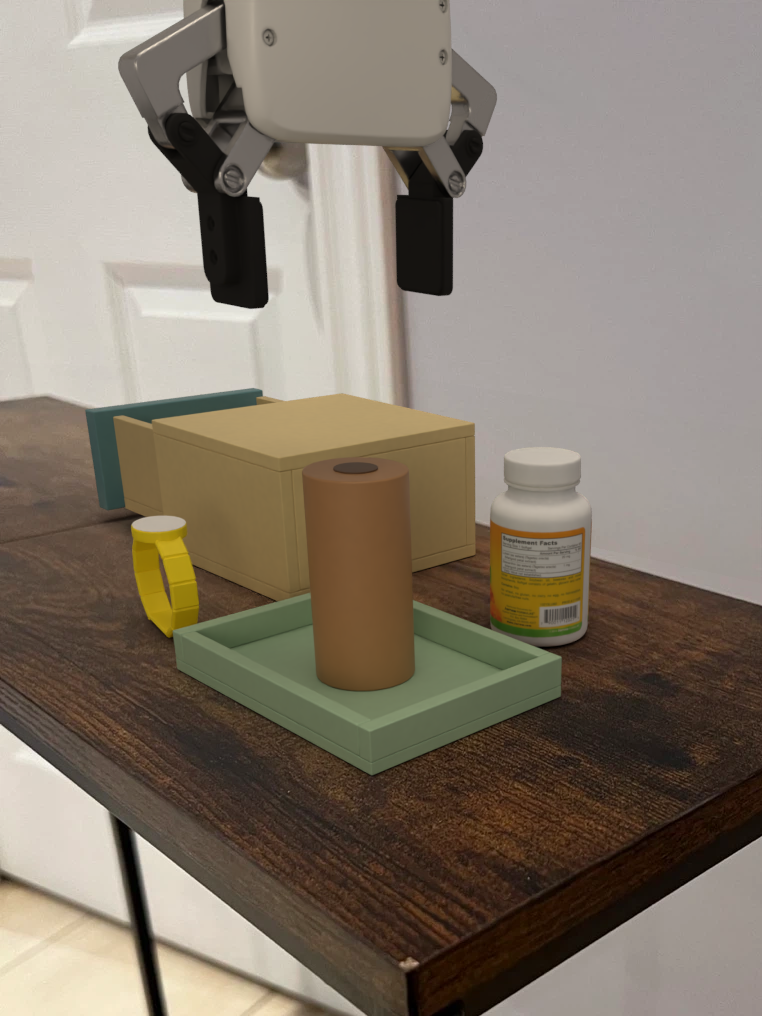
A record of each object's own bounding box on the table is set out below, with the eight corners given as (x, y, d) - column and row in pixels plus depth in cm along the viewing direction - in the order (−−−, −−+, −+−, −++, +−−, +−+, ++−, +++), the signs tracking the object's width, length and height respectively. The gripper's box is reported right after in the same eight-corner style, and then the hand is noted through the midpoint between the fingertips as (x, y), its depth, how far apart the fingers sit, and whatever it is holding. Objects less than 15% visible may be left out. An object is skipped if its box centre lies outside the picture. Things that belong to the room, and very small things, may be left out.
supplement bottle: (513, 608, 66) (515, 439, 62) (601, 622, 65) (609, 449, 60) (473, 639, 62) (472, 459, 58) (566, 655, 60) (572, 471, 56)
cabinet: (167, 554, 74) (150, 419, 71) (348, 513, 84) (342, 393, 80) (290, 607, 66) (278, 457, 62) (475, 555, 75) (475, 422, 72)
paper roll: (305, 689, 54) (289, 478, 50) (329, 651, 59) (316, 453, 54) (405, 694, 54) (398, 482, 50) (422, 655, 58) (417, 457, 54)
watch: (127, 617, 64) (112, 512, 61) (175, 607, 65) (162, 505, 63) (165, 651, 60) (151, 540, 57) (216, 640, 61) (204, 531, 59)
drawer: (71, 496, 83) (56, 400, 80) (231, 467, 92) (223, 380, 89) (193, 546, 73) (181, 439, 70) (361, 509, 82) (356, 411, 79)
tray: (176, 669, 58) (171, 629, 57) (360, 613, 65) (359, 578, 64) (371, 776, 48) (369, 730, 47) (561, 696, 55) (562, 656, 55)
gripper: (431, -142, 49) (433, 281, 57) (36, -246, 38) (104, 300, 46) (558, -167, 45) (541, 297, 52) (152, -294, 33) (206, 322, 41)
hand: (338, 298), depth 49 cm, fingers open, 9 cm apart
